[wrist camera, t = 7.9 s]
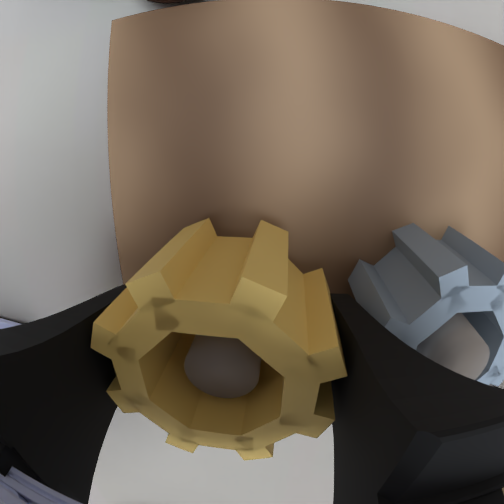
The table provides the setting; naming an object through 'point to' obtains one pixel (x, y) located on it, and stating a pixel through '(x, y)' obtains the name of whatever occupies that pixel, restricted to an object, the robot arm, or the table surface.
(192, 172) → the gear board
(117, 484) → the table surface
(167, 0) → the dish
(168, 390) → the ochre gear
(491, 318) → the slate gear
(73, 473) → the robot arm
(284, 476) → the table surface
